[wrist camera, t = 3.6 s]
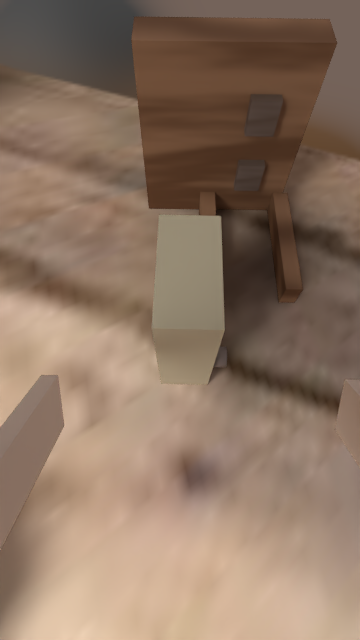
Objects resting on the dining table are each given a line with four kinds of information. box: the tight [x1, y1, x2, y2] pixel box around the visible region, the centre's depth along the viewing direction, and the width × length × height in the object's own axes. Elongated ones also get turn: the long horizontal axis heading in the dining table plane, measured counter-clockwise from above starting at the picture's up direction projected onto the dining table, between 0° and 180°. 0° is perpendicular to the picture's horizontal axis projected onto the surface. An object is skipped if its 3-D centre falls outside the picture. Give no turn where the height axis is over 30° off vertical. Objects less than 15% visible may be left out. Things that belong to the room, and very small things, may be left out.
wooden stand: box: [131, 17, 337, 302], centre depth 29 cm, size 14×14×16 cm
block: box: [152, 215, 227, 385], centre depth 26 cm, size 8×5×12 cm, turn 179°
